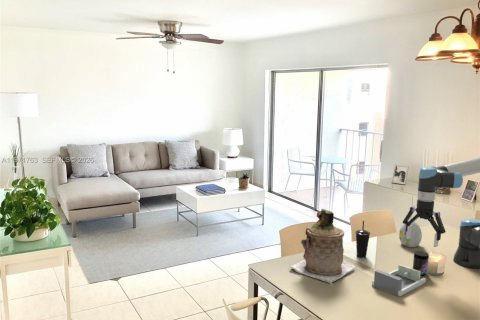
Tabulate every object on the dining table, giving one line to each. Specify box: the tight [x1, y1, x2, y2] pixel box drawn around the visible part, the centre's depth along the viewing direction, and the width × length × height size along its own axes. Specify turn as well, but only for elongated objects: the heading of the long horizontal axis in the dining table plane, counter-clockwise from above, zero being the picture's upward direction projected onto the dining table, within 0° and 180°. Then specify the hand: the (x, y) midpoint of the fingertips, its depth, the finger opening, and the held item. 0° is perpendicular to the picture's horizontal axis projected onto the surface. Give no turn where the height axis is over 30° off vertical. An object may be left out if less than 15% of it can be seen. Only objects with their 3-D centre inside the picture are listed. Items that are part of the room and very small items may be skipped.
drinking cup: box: [355, 220, 371, 259], centre depth 221 cm, size 8×8×20 cm
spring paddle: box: [397, 264, 421, 281], centre depth 193 cm, size 5×10×5 cm, turn 39°
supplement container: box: [412, 250, 430, 277], centre depth 200 cm, size 7×7×10 cm
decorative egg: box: [398, 219, 423, 248], centre depth 239 cm, size 12×12×15 cm
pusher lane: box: [371, 268, 427, 298], centre depth 189 cm, size 22×14×7 cm, turn 129°
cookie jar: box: [289, 208, 356, 285], centre depth 202 cm, size 25×25×32 cm
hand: (421, 242), depth 199 cm, fingers open, 13 cm apart
